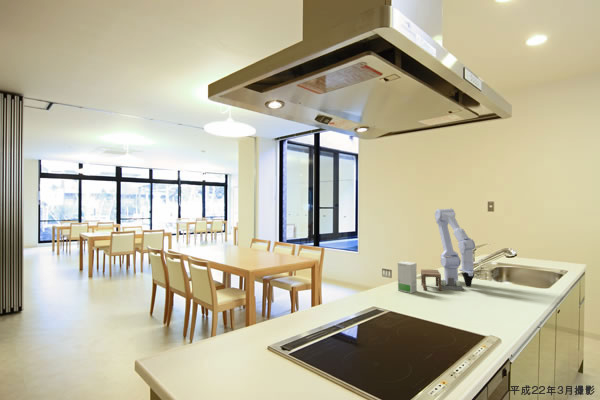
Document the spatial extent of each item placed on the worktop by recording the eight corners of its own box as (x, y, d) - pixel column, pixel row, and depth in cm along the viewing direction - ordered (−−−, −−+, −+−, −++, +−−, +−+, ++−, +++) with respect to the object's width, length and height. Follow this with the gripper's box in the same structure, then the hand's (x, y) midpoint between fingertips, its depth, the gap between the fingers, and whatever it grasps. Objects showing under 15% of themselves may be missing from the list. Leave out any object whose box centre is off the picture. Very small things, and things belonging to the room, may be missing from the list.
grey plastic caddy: (439, 287, 180) (439, 276, 180) (460, 288, 177) (460, 276, 177) (440, 289, 175) (440, 278, 175) (462, 290, 172) (462, 278, 172)
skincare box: (397, 290, 175) (396, 262, 176) (403, 288, 180) (402, 260, 180) (411, 293, 169) (410, 264, 169) (417, 291, 174) (416, 262, 174)
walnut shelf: (421, 284, 186) (420, 269, 186) (438, 285, 183) (437, 269, 184) (423, 290, 174) (423, 274, 174) (441, 291, 172) (440, 274, 172)
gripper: (456, 259, 182) (457, 282, 182) (462, 263, 168) (463, 289, 168) (470, 259, 180) (471, 283, 180) (477, 264, 166) (478, 290, 166)
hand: (468, 286), depth 174 cm, fingers closed
